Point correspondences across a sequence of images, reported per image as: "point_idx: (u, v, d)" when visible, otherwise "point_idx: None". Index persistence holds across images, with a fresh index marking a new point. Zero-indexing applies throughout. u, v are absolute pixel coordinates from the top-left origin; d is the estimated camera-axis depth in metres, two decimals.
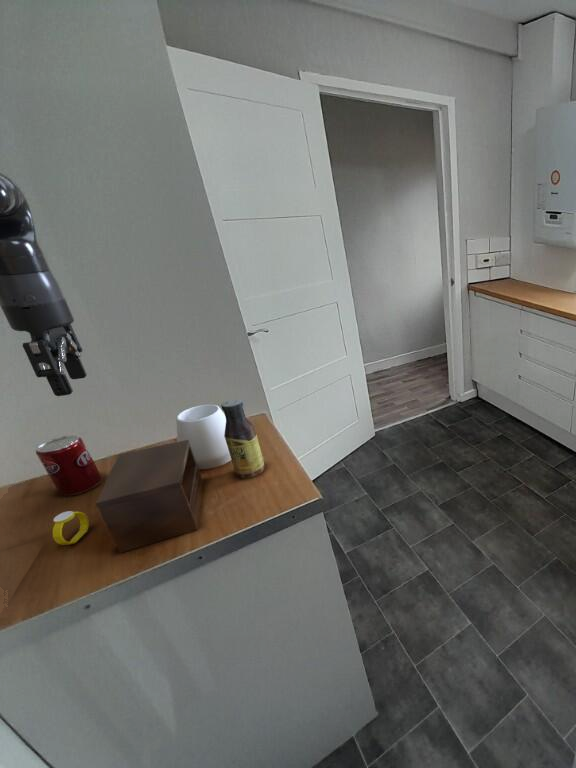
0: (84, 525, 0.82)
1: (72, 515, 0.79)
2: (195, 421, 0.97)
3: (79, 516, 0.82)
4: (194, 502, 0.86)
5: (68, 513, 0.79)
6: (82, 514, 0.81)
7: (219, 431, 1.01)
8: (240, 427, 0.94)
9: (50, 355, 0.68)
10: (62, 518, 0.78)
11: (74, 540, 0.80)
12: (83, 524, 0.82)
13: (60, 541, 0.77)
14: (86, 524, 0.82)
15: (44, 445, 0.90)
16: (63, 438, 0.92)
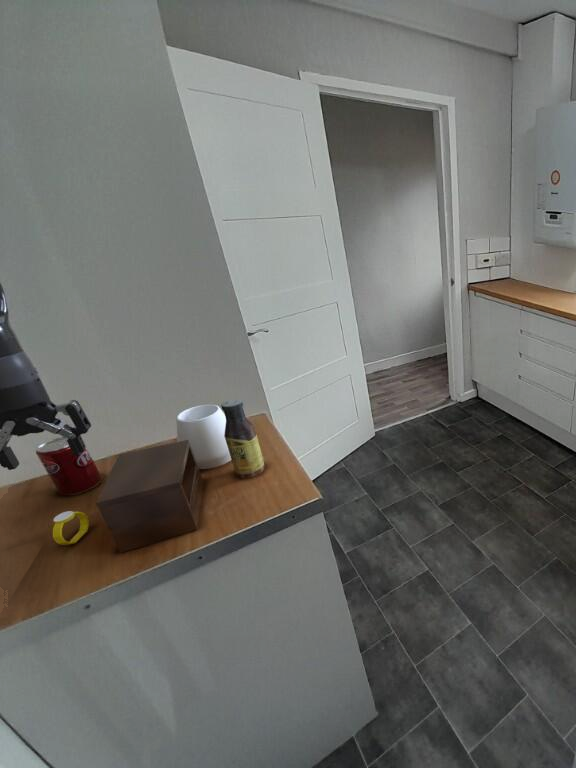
0: (84, 525, 0.82)
1: (72, 515, 0.79)
2: (195, 421, 0.97)
3: (79, 516, 0.82)
4: (194, 502, 0.86)
5: (68, 513, 0.79)
6: (82, 514, 0.81)
7: (219, 431, 1.01)
8: (240, 427, 0.94)
9: None
10: (62, 518, 0.78)
11: (74, 540, 0.80)
12: (83, 524, 0.82)
13: (60, 541, 0.77)
14: (86, 524, 0.82)
15: (44, 445, 0.90)
16: (63, 438, 0.92)
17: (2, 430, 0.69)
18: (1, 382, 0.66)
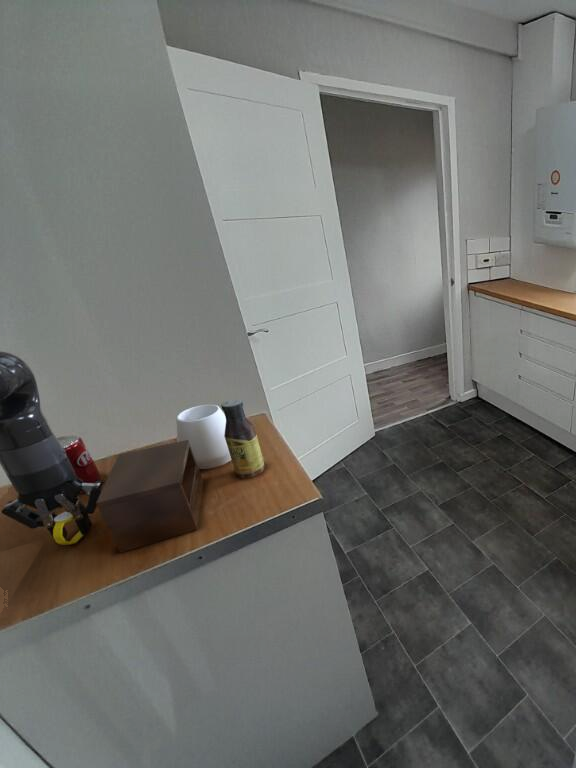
0: None
1: None
2: (195, 421, 0.97)
3: None
4: (194, 502, 0.86)
5: (68, 513, 0.79)
6: None
7: (219, 431, 1.01)
8: (240, 427, 0.94)
9: None
10: (63, 518, 0.78)
11: (74, 540, 0.80)
12: None
13: (60, 541, 0.77)
14: None
15: None
16: (63, 438, 0.92)
17: None
18: (34, 466, 0.71)
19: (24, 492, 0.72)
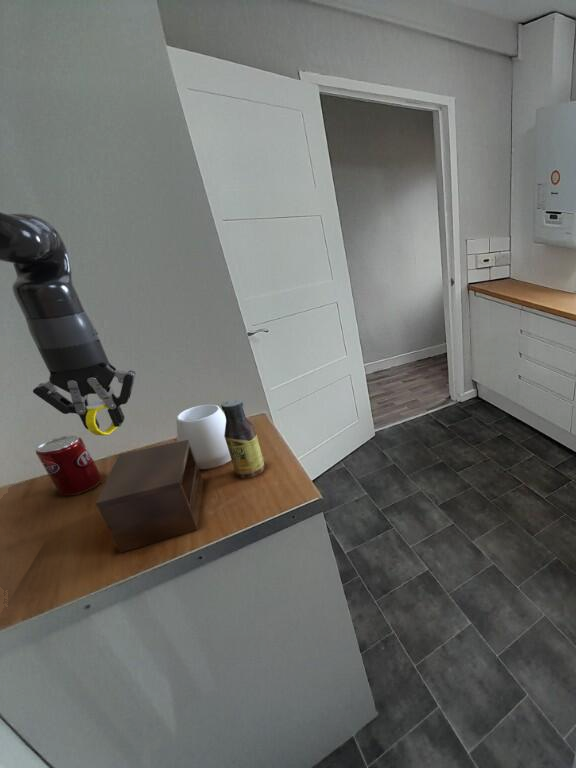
0: None
1: (105, 404, 0.75)
2: (195, 421, 0.97)
3: None
4: (194, 502, 0.86)
5: (101, 402, 0.75)
6: None
7: (219, 431, 1.01)
8: (240, 427, 0.94)
9: None
10: (95, 406, 0.74)
11: (107, 432, 0.76)
12: None
13: (93, 430, 0.74)
14: None
15: (44, 445, 0.90)
16: (63, 438, 0.92)
17: (65, 389, 0.71)
18: (67, 340, 0.67)
19: (57, 369, 0.68)
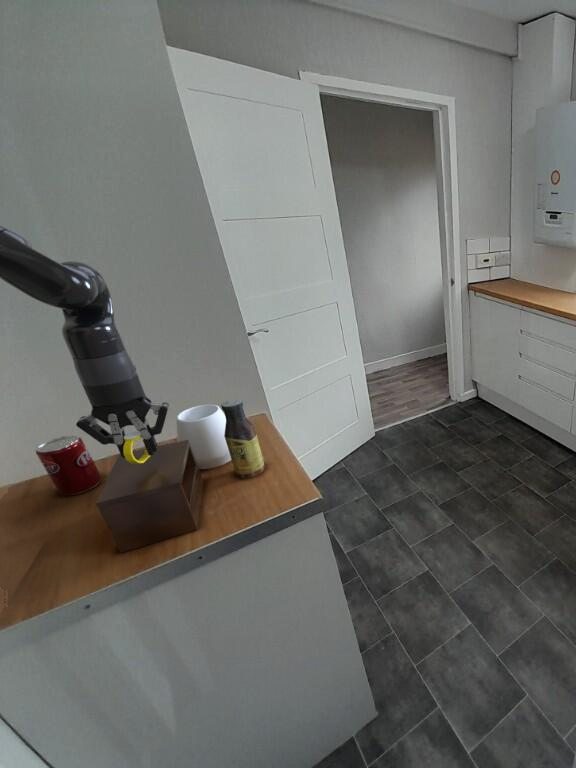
0: None
1: None
2: (195, 421, 0.97)
3: None
4: (194, 502, 0.86)
5: (136, 433, 0.80)
6: None
7: (219, 431, 1.01)
8: (240, 427, 0.94)
9: None
10: (132, 436, 0.79)
11: (141, 460, 0.81)
12: None
13: (130, 459, 0.78)
14: None
15: (44, 445, 0.90)
16: (63, 438, 0.92)
17: (105, 422, 0.75)
18: (110, 378, 0.72)
19: (99, 404, 0.73)
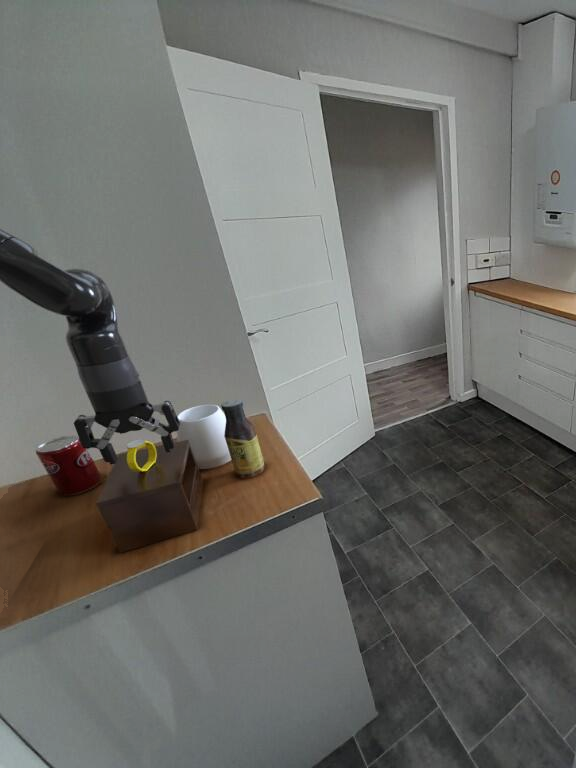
0: (152, 456, 0.84)
1: (144, 443, 0.80)
2: (195, 421, 0.97)
3: (148, 446, 0.83)
4: (194, 502, 0.86)
5: (140, 441, 0.81)
6: (151, 444, 0.83)
7: (219, 431, 1.01)
8: (240, 427, 0.94)
9: None
10: (135, 445, 0.80)
11: (145, 468, 0.82)
12: (151, 455, 0.84)
13: (133, 467, 0.79)
14: (154, 455, 0.84)
15: (44, 445, 0.90)
16: (63, 438, 0.92)
17: (108, 428, 0.76)
18: (113, 384, 0.72)
19: (103, 410, 0.73)
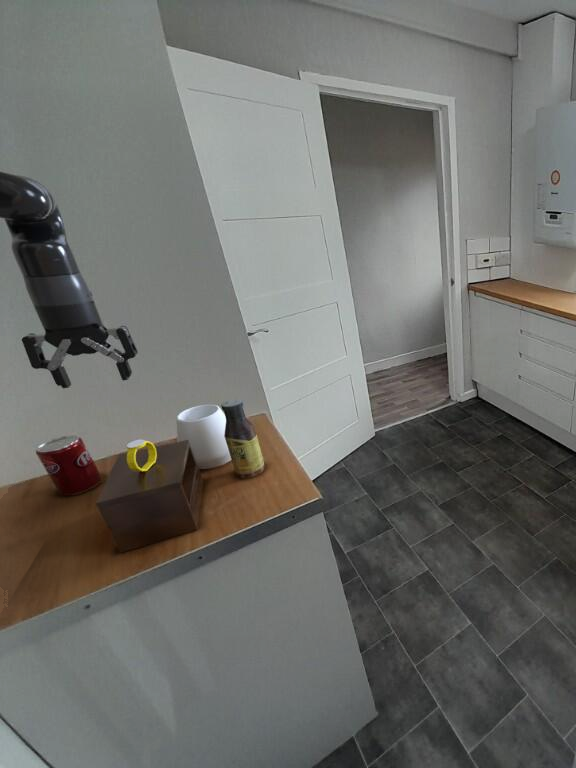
0: (152, 456, 0.84)
1: (144, 443, 0.80)
2: (195, 421, 0.97)
3: (148, 446, 0.83)
4: (194, 502, 0.86)
5: (140, 441, 0.81)
6: (151, 444, 0.83)
7: (219, 431, 1.01)
8: (240, 427, 0.94)
9: (127, 338, 0.80)
10: (135, 445, 0.80)
11: (145, 468, 0.82)
12: (151, 455, 0.84)
13: (133, 467, 0.79)
14: (154, 455, 0.84)
15: (44, 445, 0.90)
16: (63, 438, 0.92)
17: (59, 348, 0.74)
18: (62, 299, 0.70)
19: (51, 326, 0.71)
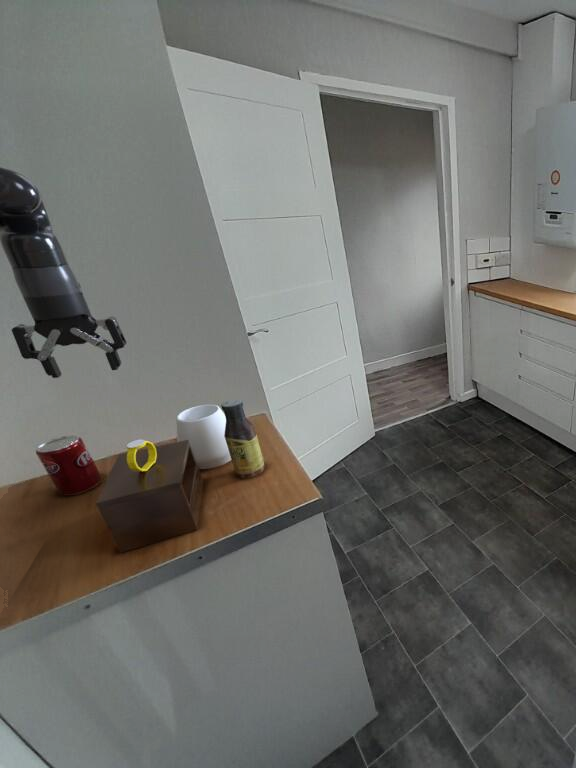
0: (152, 456, 0.84)
1: (144, 443, 0.80)
2: (195, 421, 0.97)
3: (148, 446, 0.83)
4: (194, 502, 0.86)
5: (140, 441, 0.81)
6: (151, 444, 0.83)
7: (219, 431, 1.01)
8: (240, 427, 0.94)
9: None
10: (135, 445, 0.80)
11: (145, 468, 0.82)
12: (151, 455, 0.84)
13: (133, 467, 0.79)
14: (154, 455, 0.84)
15: (44, 445, 0.90)
16: (63, 438, 0.92)
17: (49, 338, 0.75)
18: (50, 290, 0.72)
19: (41, 317, 0.73)
